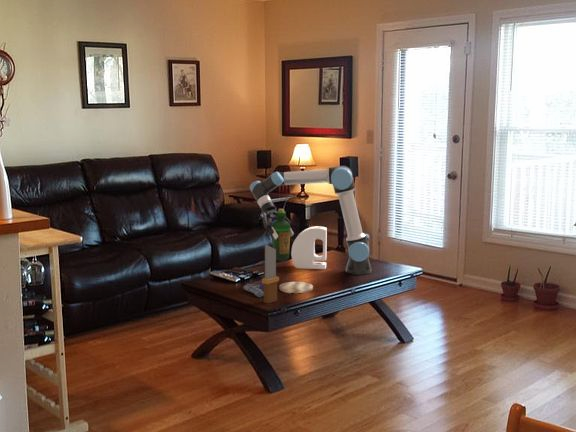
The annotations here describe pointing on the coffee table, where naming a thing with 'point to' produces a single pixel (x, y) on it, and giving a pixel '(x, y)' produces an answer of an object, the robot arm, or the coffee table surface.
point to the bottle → (281, 236)
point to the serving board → (296, 287)
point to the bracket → (309, 248)
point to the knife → (270, 275)
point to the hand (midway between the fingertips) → (284, 236)
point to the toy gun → (255, 288)
